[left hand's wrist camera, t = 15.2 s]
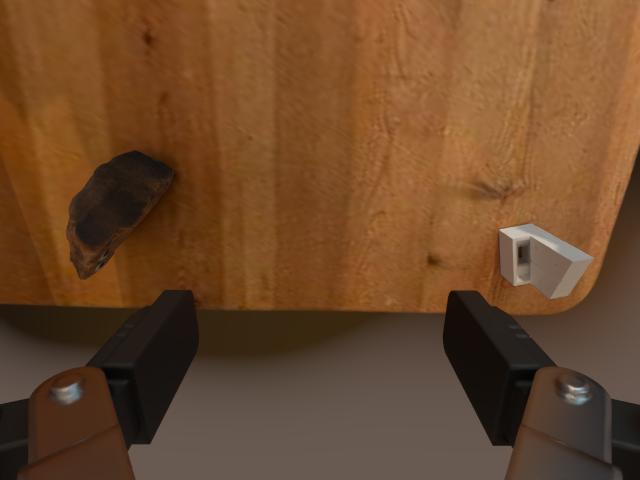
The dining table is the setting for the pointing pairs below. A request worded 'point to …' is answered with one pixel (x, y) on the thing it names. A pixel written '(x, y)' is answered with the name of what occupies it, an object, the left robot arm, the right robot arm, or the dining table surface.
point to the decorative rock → (113, 207)
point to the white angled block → (540, 260)
